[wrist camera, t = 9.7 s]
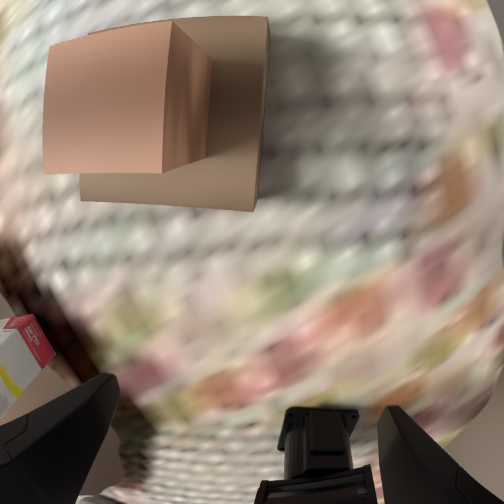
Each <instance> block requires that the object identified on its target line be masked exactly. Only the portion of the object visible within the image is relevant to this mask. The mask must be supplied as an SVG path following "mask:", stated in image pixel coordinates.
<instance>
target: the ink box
mask: <svg viewBox="0 0 504 504" xmlns="http://www.w3.org/2000/svg"><path fill="white" fill-rule="evenodd" d="M55 355H56V352H55V351H54V349H53V348H52V346H51V345H50V343H49V341H48V339H47V338H46V336H45V334H44V332H43V331H42V329H41V327H40V325H39V323H38V322H37V320H36V318H35V316H34V315H33V314H28V315H23V316H17V317H12V318H7V319H1V320H0V420H1V418H2V417H3V416H4V415H5V413H6V412H7V411H8V410H9V409H10V407H11V406H12V405H13V404H14V402H15V401H16V400H17V399H18V397H19V396H20V395H21V394H22V393H23V391H24V390H25V389H26V388H27V387H28V386H29V384H30V383H31V382H32V381H33V380H34V379H35V377H36V376H37V375H38V374H39V373H40V372H41V371H42V369H43V368H44V367H45V366H46V365H47V364H48V363H49V361H50V360H51V359H52V358H53V357H54V356H55Z"/></svg>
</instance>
